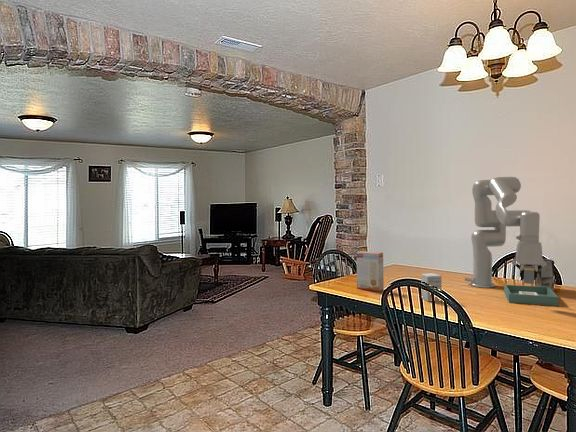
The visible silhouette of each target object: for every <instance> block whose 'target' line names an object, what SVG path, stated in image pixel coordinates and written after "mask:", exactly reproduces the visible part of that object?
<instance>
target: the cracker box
mask: <svg viewBox="0 0 576 432" xmlns="http://www.w3.org/2000/svg"><path fill="white" fill-rule="evenodd" d="M384 286H385V284H384V252H381V251H380V252H379V251H369V250H364V251H363V250H360V251H356V289H359V290H365V291H372V292H381V291H384V289H385V287H384Z"/></svg>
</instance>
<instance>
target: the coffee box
mask: <svg viewBox="0 0 576 432" xmlns="http://www.w3.org/2000/svg"><path fill="white" fill-rule="evenodd" d="M543 260H544V261H545V263H546V264H547V265H546V266H544V267H542V268H541V269H539V270H538V271H537V278H536V280H534V286H539V287H549V288H550V289H551V290H552V291H553V292H554V291H555V260H552V259H550V258H543ZM537 266H538V265H537Z"/></svg>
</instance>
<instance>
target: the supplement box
mask: <svg viewBox="0 0 576 432" xmlns="http://www.w3.org/2000/svg"><path fill="white" fill-rule="evenodd" d="M422 282H425V283H427V284H429V285H431V286H434V287H437V288H438V289H440V290H441V291H442V282H443V281H442V275H439V274H437V273H434V272H430V273H421V283H422ZM422 296H423V299H422V300H424V301H426V302H427V301H431V295H430V293H429V292H427V291H424V290H422V289H421V297H422ZM435 301H436V302H440V301H439V299H438V298H437V297H435Z"/></svg>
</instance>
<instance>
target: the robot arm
mask: <svg viewBox="0 0 576 432" xmlns="http://www.w3.org/2000/svg"><path fill="white" fill-rule="evenodd" d="M521 186H522V185H521V181H520V180H519V178H517V177H515V176H497V177H494V178H491V179H481V180H477V181H475V182H474V183H473V186H472V189H471V190H472V197H473V200H474V225H475V226H476V227H477V228H493V229H478V230H475V231H473V232H472V233H471V236H470V237H471V238H470V239H471V244H472V253H473V255H472V257H473V259H472V262H473V263H472V265H473V266H472V268H473V269H472V273H473V274H472V277H464V281H465V282H470V286H472V287H475V288H483V289H484V288H487V289H490V288H495V286H496V285H495V283H494V282H493V254H492V252H491V250H489V248H490V247H491V248H492V247H495V248H496V247H502V246H504V245H505V243H506V238H507V237H506V236H507V227H519V235H516V236H515V239H516V240H519V241H517V245H516V249H515V250H516V251H515V257H514V258H513V259H512V261H511V262H510V263H511V265H513V266H515V267H516V268H517V269H519V278H521V280H523V279H524V271H523V267H524V264H526V265H534V269H535V270H534V281H535V280H536V278H537V271H538V270H539V269H541V268H542V267H544V266H546V265H547V264H546V263H545V261H544V260H543V259H544V258H543V247H542V242H540V220H541V219H540V217H541V216H540V212H539V213H538V212H537V211H536V212H535V211H530V210H527V209H526V210H525V209H524V210H523V209H522V210H517V209H515V210H508V209H506V208H508V207H510V206H512V205H514V203H515V202H516V201H517V199H518V196H517V193H519V192H520V190H521V188H522V187H521ZM489 196H494V197H495V199H496V201H497V203H496V205H495V210H494V209H492V200H491V198H490V197H489ZM488 247H489V248H488ZM537 265H538V266H537Z"/></svg>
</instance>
